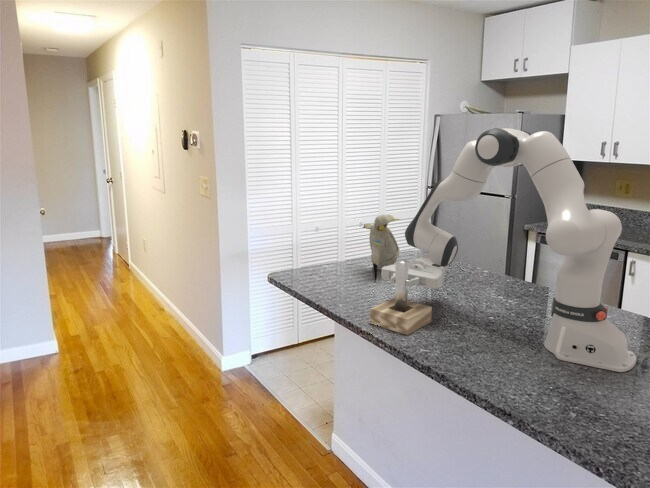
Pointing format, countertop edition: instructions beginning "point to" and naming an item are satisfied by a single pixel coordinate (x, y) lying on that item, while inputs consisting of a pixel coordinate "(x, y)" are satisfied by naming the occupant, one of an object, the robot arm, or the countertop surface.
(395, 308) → the pin
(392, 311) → the socket block
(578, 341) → the robot arm
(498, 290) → the countertop surface
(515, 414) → the countertop surface
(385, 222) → the figurine
